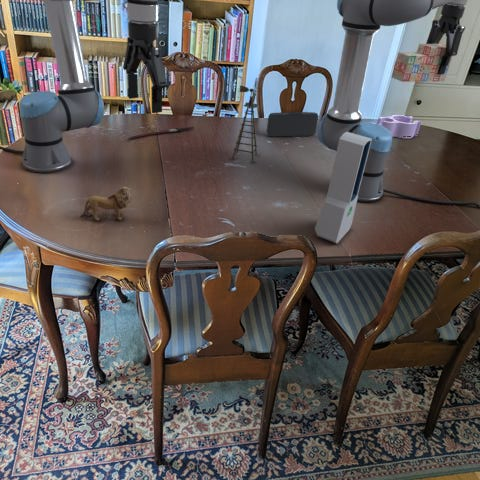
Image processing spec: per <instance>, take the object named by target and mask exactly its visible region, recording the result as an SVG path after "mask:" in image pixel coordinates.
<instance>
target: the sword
mask: <svg viewBox="0 0 480 480" xmlns="http://www.w3.org/2000/svg"><path fill="white" fill-rule="evenodd" d="M192 129H195V127H194V126H187V127H186V126H185V127H175V128H171V129H166V130H160V131H153V132H148V133H142V134H136V135H133V136H130V137H129V138H128V140H132V139H133V140H134V139H136V138H140V137H141V138H142V137H146V136H147V137H148V136H151V135H152V136H153V135H157V134H158V135H159V134H164V133H165V134H166V133H173V132H179V131H182V130H183V131H184V130H192Z"/></svg>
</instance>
